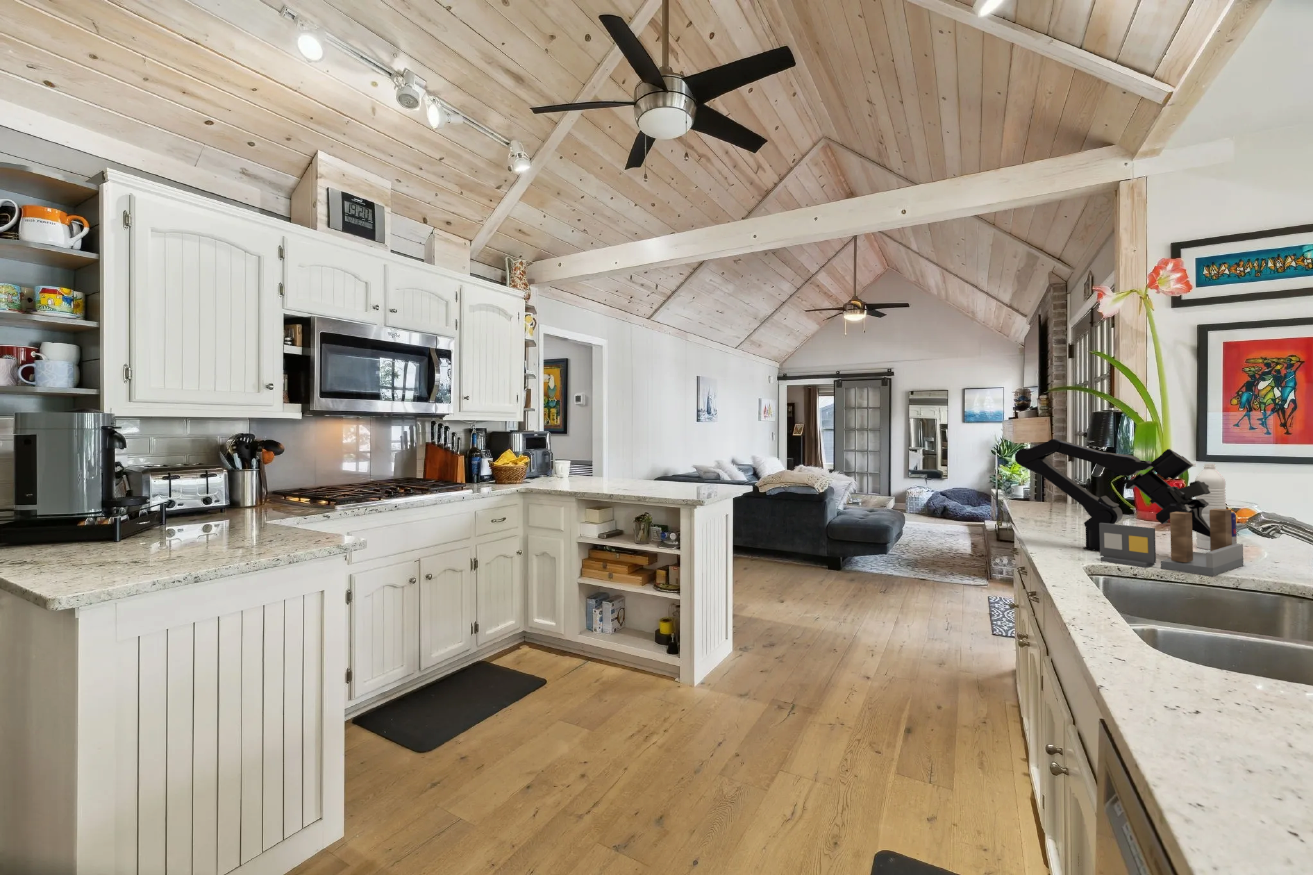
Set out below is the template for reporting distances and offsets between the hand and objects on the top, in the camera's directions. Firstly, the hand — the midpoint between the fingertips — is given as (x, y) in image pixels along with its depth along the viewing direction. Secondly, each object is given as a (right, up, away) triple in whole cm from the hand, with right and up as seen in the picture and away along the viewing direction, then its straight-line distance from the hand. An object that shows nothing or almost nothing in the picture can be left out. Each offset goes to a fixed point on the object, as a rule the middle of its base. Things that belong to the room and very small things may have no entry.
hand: (1212, 535), depth 151 cm
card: (-20, -8, +3) cm, 22 cm away
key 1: (-13, -5, -6) cm, 15 cm away
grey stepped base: (-6, -7, -4) cm, 10 cm away
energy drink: (+13, -7, +10) cm, 18 cm away
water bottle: (+17, -7, +19) cm, 26 cm away
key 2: (+1, -5, -2) cm, 5 cm away
